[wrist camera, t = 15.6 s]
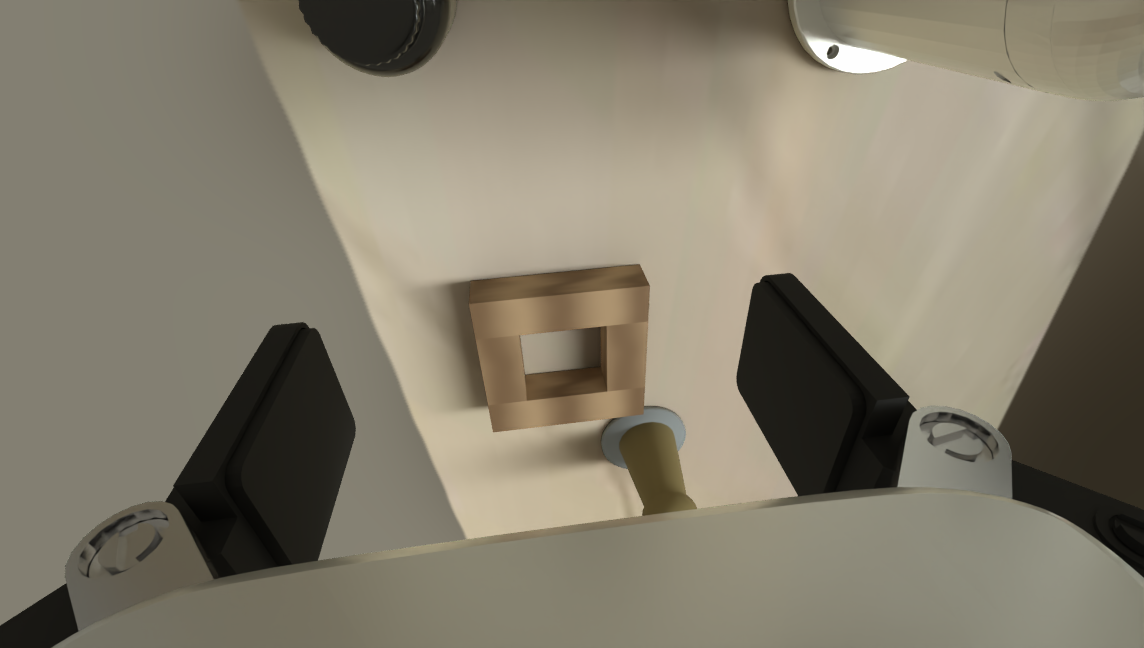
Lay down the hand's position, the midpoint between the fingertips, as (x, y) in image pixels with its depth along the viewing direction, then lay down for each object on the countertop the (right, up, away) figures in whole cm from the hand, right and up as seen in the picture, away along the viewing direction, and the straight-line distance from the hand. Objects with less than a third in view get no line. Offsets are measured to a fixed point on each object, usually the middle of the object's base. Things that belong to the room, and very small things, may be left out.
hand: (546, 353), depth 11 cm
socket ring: (0, -1, +35) cm, 35 cm away
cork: (+9, -12, +44) cm, 46 cm away
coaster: (+8, -11, +44) cm, 46 cm away
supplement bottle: (-10, +21, +19) cm, 30 cm away
